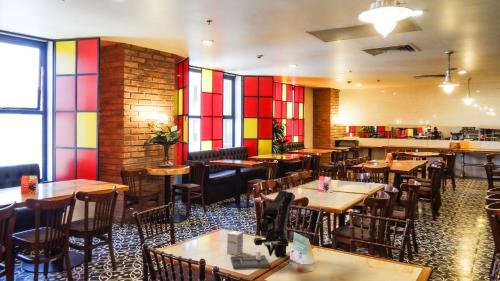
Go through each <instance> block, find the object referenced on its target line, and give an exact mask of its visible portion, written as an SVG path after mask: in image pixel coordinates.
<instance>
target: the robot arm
mask: <svg viewBox="0 0 500 281" xmlns="http://www.w3.org/2000/svg"><path fill="white" fill-rule="evenodd" d="M295 199H296V195H295V194H294V192H292V191H291V192H290V191H287V190H278V193H277V195H276V196H275V198H274V200H273V201H272V202H271V203H269V204H268V205H267V206H265V208H264V210H263V213H262V216H261V220H262V221H261V223H259V226H258V230H259V231H260V236H261V237H255V238H253V243H254V245H255V246H262V245H263V244H264V247H266V248H267V252H268V254H269V257H272V255H275V257H276V258H277V257H279V258H280V257H282V258H283V257H288V254H287V247H289V244H290V242H289V239H288V233H287V230H286V229H287V222H288V217H289V214H290V207H292V205H293V204H294V202H295ZM280 207H281V210H280V211H279V208H280ZM279 214H280V215H279ZM278 216H279V218H278ZM277 220H278V223H277ZM277 224H278V225H277ZM262 237H263V239H262Z"/></svg>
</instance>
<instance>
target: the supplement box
mask: <svg viewBox="0 0 500 281" xmlns="http://www.w3.org/2000/svg"><path fill="white" fill-rule="evenodd" d="M226 239H227V240H226V242H227V244H226V254H229V255H233V256H238V255H239V256H240V254H241V253H243V250H244V248H243V246H244V245H243V244H244V232H243V231H237V230H232V231H230V232H227V238H226Z"/></svg>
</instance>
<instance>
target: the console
mask: <svg viewBox="0 0 500 281" xmlns="http://www.w3.org/2000/svg"><path fill="white" fill-rule="evenodd" d="M230 263H231V266H232V268H233V270H236V269H237V270H239V269H260V268H261V269H263V268H264V269H265V268H270V263H269V261H268V259H267V257H266V255H264V254H261V260H257V259H256V255H239V256H238V255H233V256H230Z"/></svg>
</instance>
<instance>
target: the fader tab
mask: <svg viewBox="0 0 500 281" xmlns="http://www.w3.org/2000/svg"><path fill="white" fill-rule="evenodd" d="M261 255H262V251H261V250H260V249H256V250H255V256H256V259H257V260H261Z"/></svg>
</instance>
